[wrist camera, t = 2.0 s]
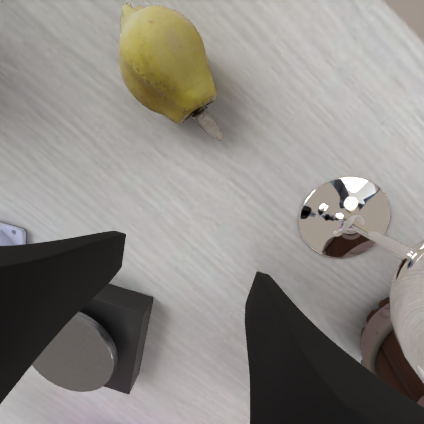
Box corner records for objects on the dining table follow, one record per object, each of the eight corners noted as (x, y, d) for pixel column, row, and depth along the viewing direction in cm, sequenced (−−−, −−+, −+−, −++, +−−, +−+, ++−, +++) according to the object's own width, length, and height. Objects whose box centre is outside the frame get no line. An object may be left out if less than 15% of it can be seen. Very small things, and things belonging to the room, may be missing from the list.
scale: (46, 343, 26) (24, 364, 24) (47, 265, 23) (23, 279, 20) (139, 372, 26) (127, 397, 23) (153, 297, 22) (142, 315, 20)
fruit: (198, 164, 18) (106, 76, 16) (241, 116, 18) (157, 23, 16) (209, 155, 12) (69, 16, 10) (271, 86, 13) (147, -65, 10)
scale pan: (30, 367, 22) (23, 375, 22) (29, 295, 20) (21, 301, 19) (112, 394, 22) (108, 403, 21) (123, 324, 19) (118, 331, 19)
